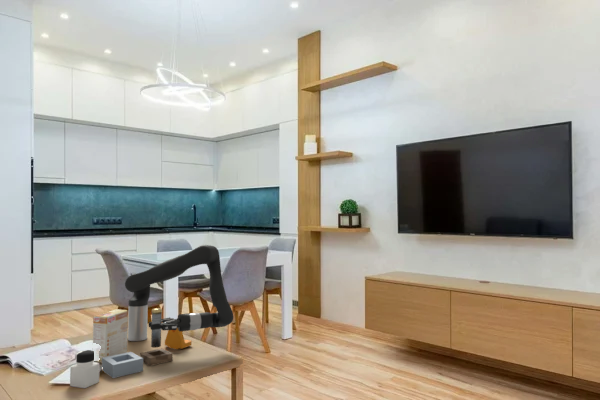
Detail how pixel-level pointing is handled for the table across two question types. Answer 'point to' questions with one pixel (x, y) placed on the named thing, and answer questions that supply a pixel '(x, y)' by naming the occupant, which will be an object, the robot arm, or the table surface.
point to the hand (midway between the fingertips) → (150, 325)
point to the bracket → (176, 340)
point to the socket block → (156, 356)
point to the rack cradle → (122, 364)
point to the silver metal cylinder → (157, 332)
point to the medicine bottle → (84, 370)
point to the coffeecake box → (111, 332)
